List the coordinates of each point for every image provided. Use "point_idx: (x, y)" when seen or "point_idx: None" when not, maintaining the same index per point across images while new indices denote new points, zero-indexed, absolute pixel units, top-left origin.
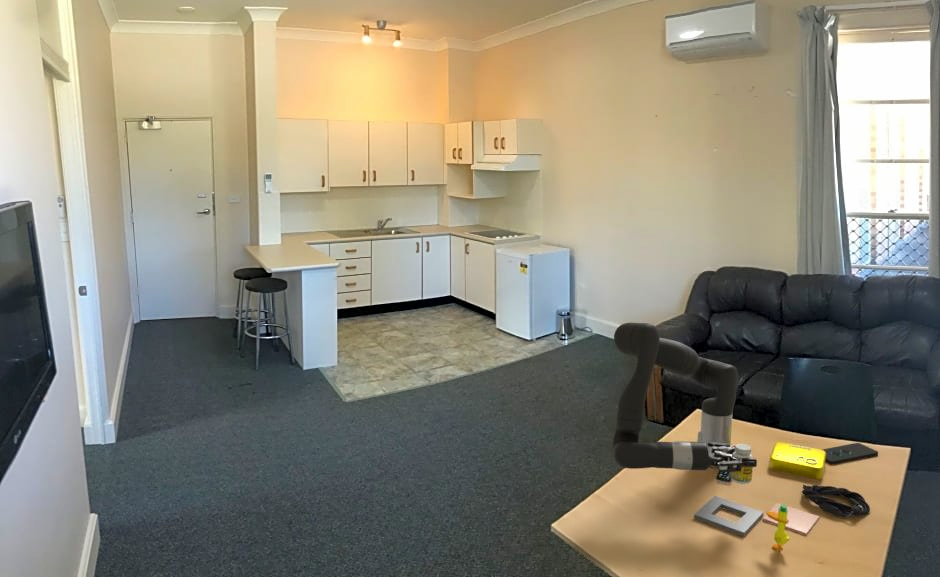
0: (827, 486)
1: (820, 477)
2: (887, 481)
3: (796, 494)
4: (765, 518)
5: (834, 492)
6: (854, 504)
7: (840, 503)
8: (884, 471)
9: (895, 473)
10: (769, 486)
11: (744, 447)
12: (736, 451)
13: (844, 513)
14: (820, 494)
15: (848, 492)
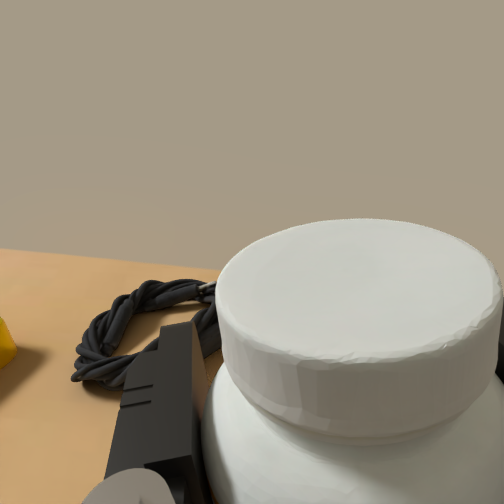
0: (92, 327)
1: (14, 344)
2: (69, 262)
3: (94, 412)
4: None
5: (125, 319)
6: (189, 295)
7: (215, 303)
8: (27, 263)
9: (41, 254)
10: (5, 498)
11: (368, 259)
12: (460, 411)
13: None
14: (110, 354)
15: (139, 294)
